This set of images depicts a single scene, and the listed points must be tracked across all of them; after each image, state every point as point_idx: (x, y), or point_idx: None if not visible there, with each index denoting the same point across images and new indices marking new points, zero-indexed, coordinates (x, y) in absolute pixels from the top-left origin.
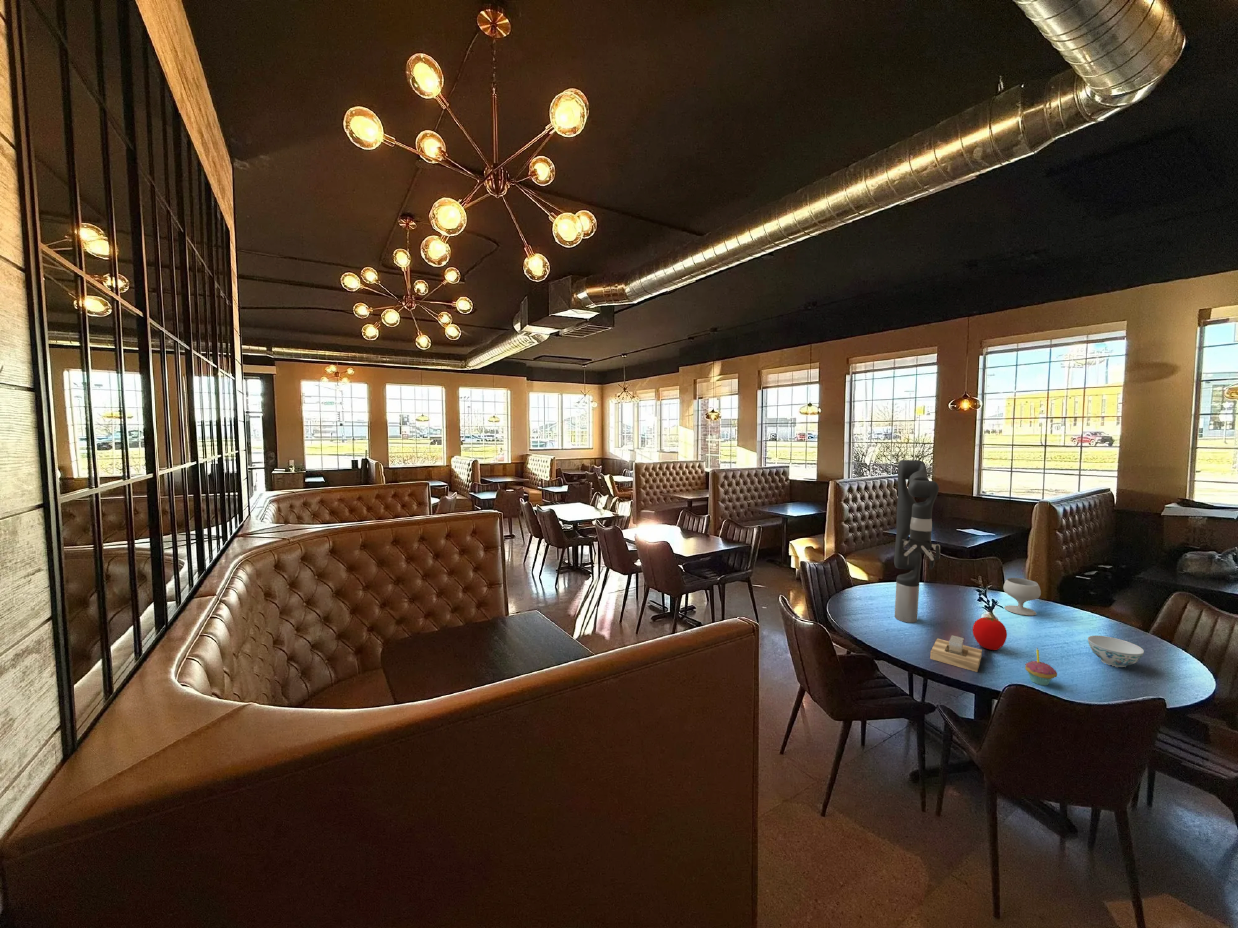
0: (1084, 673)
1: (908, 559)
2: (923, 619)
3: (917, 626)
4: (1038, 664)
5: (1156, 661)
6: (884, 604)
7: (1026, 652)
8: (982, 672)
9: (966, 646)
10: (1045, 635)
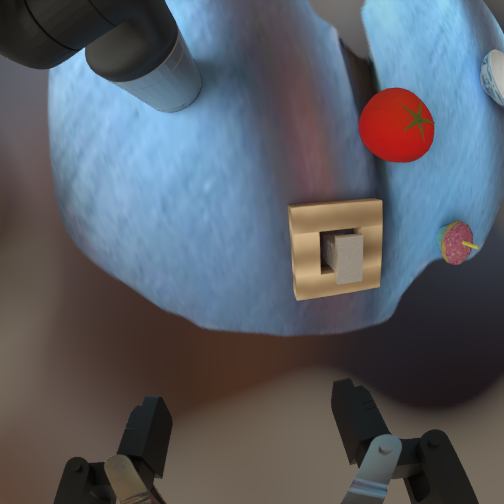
0: (478, 149)
1: (154, 433)
2: (210, 54)
3: (213, 113)
4: (462, 252)
5: None
6: None
7: None
8: None
9: (354, 206)
10: (416, 9)
